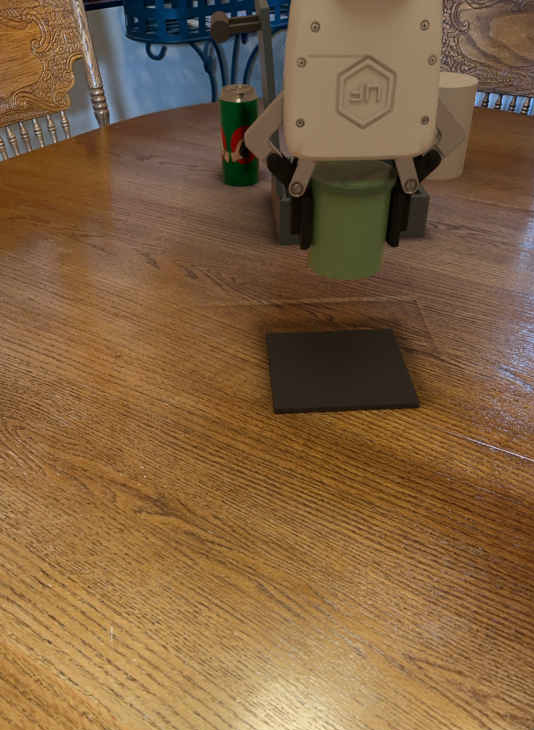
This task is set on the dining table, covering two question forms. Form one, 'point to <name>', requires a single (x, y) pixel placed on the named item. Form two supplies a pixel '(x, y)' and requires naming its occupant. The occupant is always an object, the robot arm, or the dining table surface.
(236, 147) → the soda can
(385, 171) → the pot
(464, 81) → the beige cylinder
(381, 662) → the dining table surface
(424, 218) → the grey storage tray
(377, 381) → the plate
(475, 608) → the dining table surface
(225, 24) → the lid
